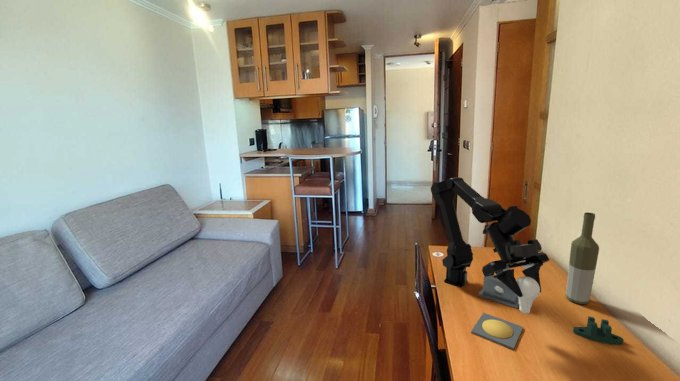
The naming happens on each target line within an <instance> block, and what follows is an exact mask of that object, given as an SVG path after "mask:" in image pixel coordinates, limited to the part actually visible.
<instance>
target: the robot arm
mask: <svg viewBox="0 0 680 381" xmlns="http://www.w3.org/2000/svg"><path fill="white" fill-rule="evenodd" d="M430 192H431V194H432V198H433V199H434V201H435V202H436V203H437V204H438V205H439V206H440V211H441V216H442V219H443V224H444V227H445V231H446V236H447V239H448V246H447V248H446V256H445V257H444V258H443V259H441V260H442V266H443V267H445V268H446V271H445V273H446V274H445V279H444V280H443V282H444V283H447V284H450V285H453V286H457V287H459V288H463V287H462V286H464V284H465V283H467V281H468V271H467V268H470V267H471V265H472V262H473V260H474V253H473V251H472V246H471V244H470V243H466V241H464V239H463V238H464V237H463V235H462V231H461V226H460V223H459V221H458V220H459V219H458V216H457V213H456V212H457V211H456V208H455V204H454V201H455V199H456V195H457V196H458V197H459V198H460V199H462V200H463V201H464V202H465V203H466V204H467V205H468V206H469V207H470V208H471V213H472V215H473V216H474V218H475V219H476V220H477V221H478V223H480V224H485V225H484V227H483V230H482V234H483V235H486V234H487V235H489V238H490V240H491V242H492V244H493V247H494V248H493V249H492V250H493V254H494V253H497V255H498V257H499V258H500V259H498V260H494V261H493V260H492V261H490V262H488V263H486V264H485V265H483V266H482V269H481V272H482V275H483V276H484V277H487V276H492V275H495V276H493V277H494V278H497V279H499V280H500V281H501V282H502V283H504V284H505V285H506V286H507V287H509V288H510V289H511V290H512V291H513V292H514V293H515V294H516V295H517V296H519V297H522V296H523V295H522V292H521V290H520V287H519V285H518V283H517V281H516V280H517V279H516V277H515V269H516V268H519V267H523V268H524V270H521V272H522V274H523V275H524V276H526V277H530V278H533V279H534V280H535V281H536V282H537V283H538V284H539V287H540V293H542V286H541V280H540V269H541V267H542V266H544V264H546V263H547V262H549V261H551V260H550V258H549V257H548V255H547V253H545V252H543V251H542V250H543V249H542V244H541V243H540V242H539V240H538V239H528V240H527V243H521V241H520V240H518V239H515V238H514V236H516V235H517V234H518V233H520V232H522V231H523V230H525V229H526V228H527V227H530V225H531V223H532V219H531V216H530V215H529V214H527V213H526V211H524V210H523V209H520V208H519V207H518V206H517V205H511V206H509V207H508V208H507V209H506V208H504V207H503V206H502V205H501V204H500V203H498V202H497V201H494V200H493V199H489V198H488V197H487V198H486V197H484V196H482V195H481V194H480V193H479V192H478V191H476V190H475V189H474V188H473V187H471V185H470V184H468V183H466V181H465V180H464V178H463V177H460V176H459V177H450V178H448V179H446V180H442V181H435V182H433V183H432V185H431V186H430ZM487 223H490V224H487ZM484 277H483V278H484Z"/></svg>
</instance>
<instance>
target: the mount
mask: <svg viewBox="0 0 680 381" xmlns="http://www.w3.org/2000/svg"><path fill="white" fill-rule="evenodd" d="M600 321H601V322H600V326H598V323H597V322H596V319H595V317H594V316H587V322H586V326H573V328H572V329H573V330H572V333H574V335H577V336H579V337H582V338H583V339H586V340H589V341H593V342H597V343H602V344H606V345H615V346H617V345H618V346H622V345H624V338H623V337H621V335H617V334H614V333H612V330H613V329H612V326H611V325H609V320H608V319H603V318H602V319H601V320H600Z"/></svg>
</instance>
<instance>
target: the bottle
mask: <svg viewBox="0 0 680 381" xmlns="http://www.w3.org/2000/svg"><path fill="white" fill-rule="evenodd" d="M595 219H596V213H593V212H589V211H588V212H584V214H583V221H582V228H581V235H580V236H579V237H577V238H576V239H574V240H573V241H571V246H570V251H569V252H570V253H569V262H568V271H567V280H566V288H565V296H566V298H567V300H568V301H570V302H573V303H575V304H578V305H579V304H580V305H586V304H588V303H589V302H590V300H591V296H592V290H593V285H594V279H595V274H596V269H597V264H598V263H597V262H598V257H599V252H600V246H599V244H598V243H597V242H596V240H595V239H594V238H593V231H594V224H595Z"/></svg>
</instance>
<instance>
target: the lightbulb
mask: <svg viewBox="0 0 680 381" xmlns="http://www.w3.org/2000/svg"><path fill="white" fill-rule="evenodd" d="M516 281H517V283H518V285H519V287H520V290H521V292H522V295H523V296H522V297H519V296H518V298H519V304H520V305H519V307H518V308H519V311H520V313H522V314H524V315H525V314H529V313H530V312H531V308H532V306H533V303H534V300H535V299H536V298H538V296H539V295H540V293H541V292H540V287H539V284H538V283H537V282H536V281H535V280H534V279H533V278H530V277H526V276H525V275H524V276H520V277H518V278H517V279H516Z"/></svg>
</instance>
